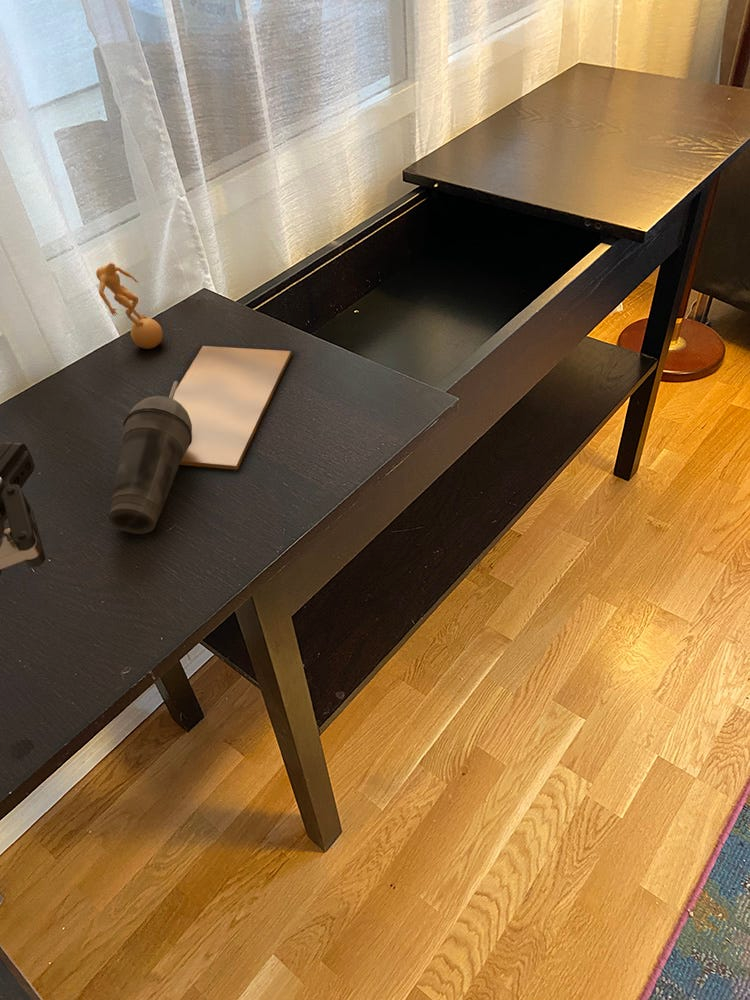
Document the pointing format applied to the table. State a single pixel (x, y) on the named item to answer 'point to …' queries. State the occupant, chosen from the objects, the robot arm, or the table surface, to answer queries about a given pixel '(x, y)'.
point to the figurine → (129, 307)
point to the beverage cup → (149, 461)
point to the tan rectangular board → (227, 401)
